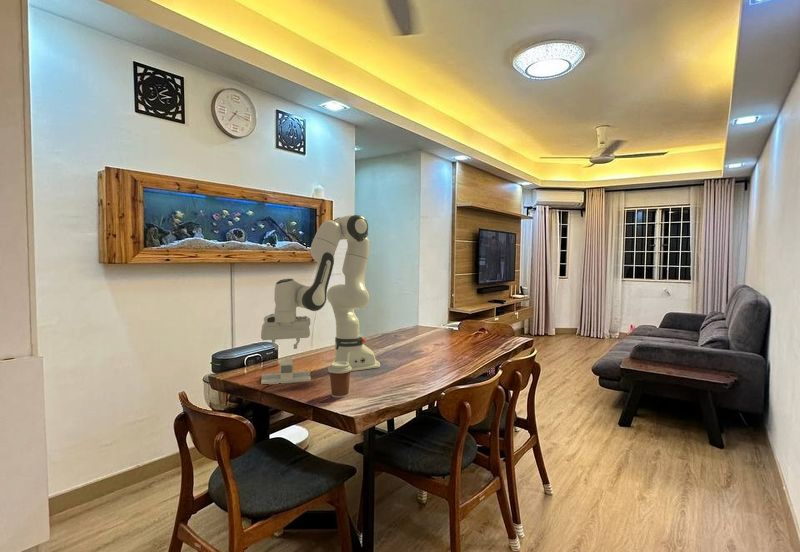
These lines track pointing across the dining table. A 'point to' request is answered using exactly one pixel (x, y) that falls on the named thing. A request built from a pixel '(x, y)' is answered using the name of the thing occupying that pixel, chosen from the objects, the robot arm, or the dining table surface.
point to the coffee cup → (340, 378)
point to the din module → (286, 369)
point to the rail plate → (275, 379)
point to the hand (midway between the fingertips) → (285, 349)
